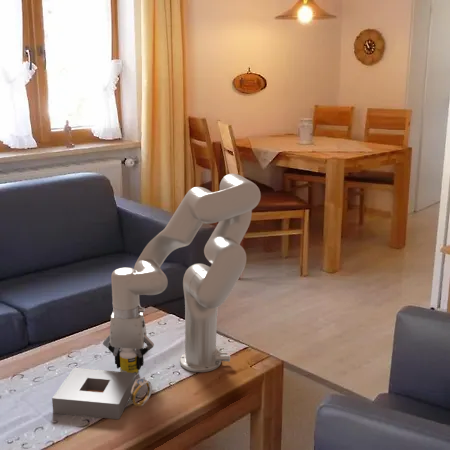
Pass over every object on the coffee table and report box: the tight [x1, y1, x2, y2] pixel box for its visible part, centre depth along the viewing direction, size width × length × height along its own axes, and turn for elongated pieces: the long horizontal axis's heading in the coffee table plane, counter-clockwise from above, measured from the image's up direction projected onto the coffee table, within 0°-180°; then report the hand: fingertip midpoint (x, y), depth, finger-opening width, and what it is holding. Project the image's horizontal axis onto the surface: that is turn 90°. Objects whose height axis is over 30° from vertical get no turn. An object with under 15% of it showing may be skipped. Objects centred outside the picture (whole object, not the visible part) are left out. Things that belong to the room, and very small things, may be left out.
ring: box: [130, 377, 153, 407], centre depth 171 cm, size 7×3×8 cm, turn 137°
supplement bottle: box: [119, 348, 140, 377], centre depth 185 cm, size 5×5×10 cm
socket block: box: [51, 367, 136, 420], centre depth 173 cm, size 18×16×4 cm
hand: (129, 366), depth 186 cm, fingers closed on supplement bottle, 5 cm apart
